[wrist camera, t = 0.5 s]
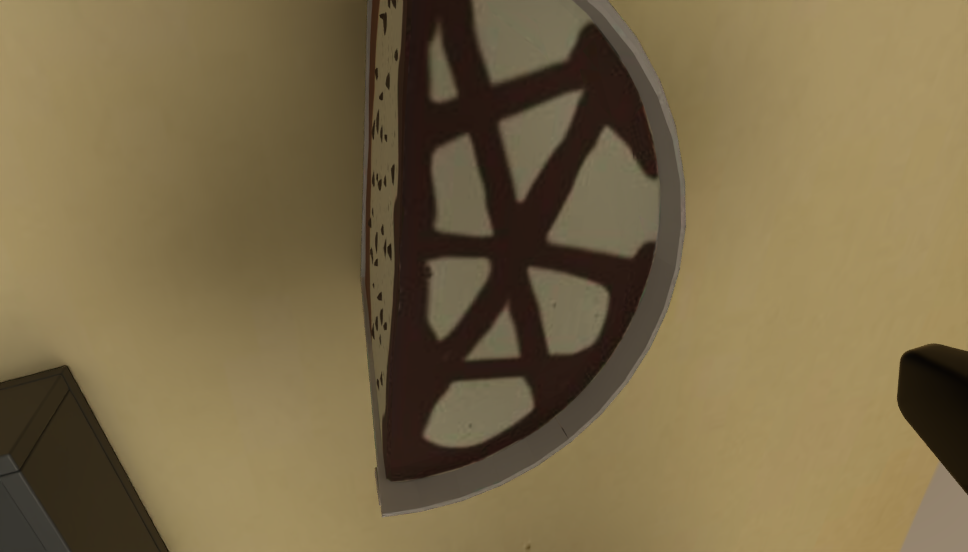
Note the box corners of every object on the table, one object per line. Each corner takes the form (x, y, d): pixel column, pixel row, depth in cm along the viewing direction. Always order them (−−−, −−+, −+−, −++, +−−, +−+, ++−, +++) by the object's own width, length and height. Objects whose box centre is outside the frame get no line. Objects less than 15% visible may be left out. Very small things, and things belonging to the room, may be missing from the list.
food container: (532, 318, 25) (648, 514, 16) (359, 320, 23) (380, 537, 14) (582, -59, 20) (789, -81, 11) (369, -85, 19) (409, -133, 10)
